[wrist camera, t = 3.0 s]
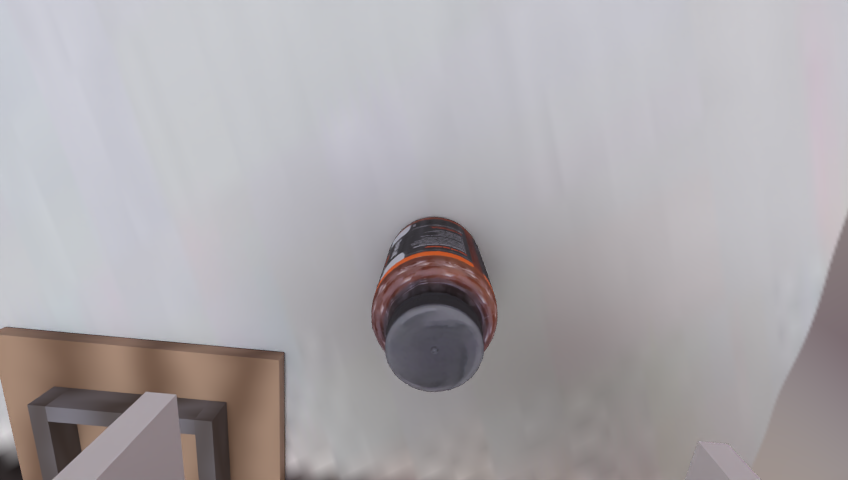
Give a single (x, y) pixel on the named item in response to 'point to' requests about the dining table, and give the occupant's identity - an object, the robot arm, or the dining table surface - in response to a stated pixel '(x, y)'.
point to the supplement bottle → (434, 306)
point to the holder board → (126, 382)
